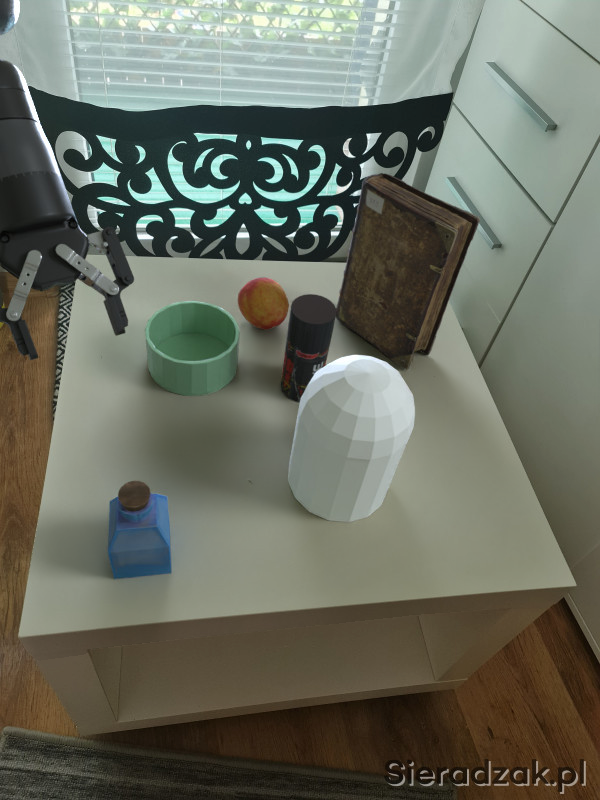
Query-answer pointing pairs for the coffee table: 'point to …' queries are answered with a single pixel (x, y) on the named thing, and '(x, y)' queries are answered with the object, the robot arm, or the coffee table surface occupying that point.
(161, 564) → the perfume bottle
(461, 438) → the coffee table surface
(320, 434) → the white dome-topped cylinder
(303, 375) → the deodorant
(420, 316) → the book
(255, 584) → the coffee table surface
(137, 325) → the coffee table surface
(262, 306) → the fruit
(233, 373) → the green bowl
